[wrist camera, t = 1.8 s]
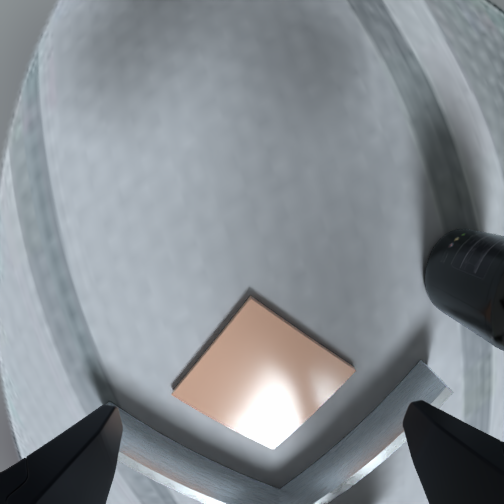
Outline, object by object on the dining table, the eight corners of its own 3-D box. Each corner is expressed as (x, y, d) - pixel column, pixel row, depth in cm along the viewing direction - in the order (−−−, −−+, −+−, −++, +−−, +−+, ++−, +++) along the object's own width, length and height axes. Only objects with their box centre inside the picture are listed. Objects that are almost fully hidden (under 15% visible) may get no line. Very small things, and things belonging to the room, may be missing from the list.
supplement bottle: (492, 276, 22) (593, 321, 10) (439, 326, 23) (533, 400, 11) (467, 209, 21) (586, 229, 9) (407, 260, 22) (522, 317, 10)
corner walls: (427, 365, 23) (453, 392, 19) (281, 497, 26) (284, 529, 22) (239, 220, 21) (238, 227, 17) (104, 408, 24) (85, 440, 19)
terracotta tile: (353, 366, 23) (356, 370, 23) (272, 445, 24) (273, 449, 24) (250, 295, 22) (250, 298, 21) (172, 390, 23) (171, 394, 23)
